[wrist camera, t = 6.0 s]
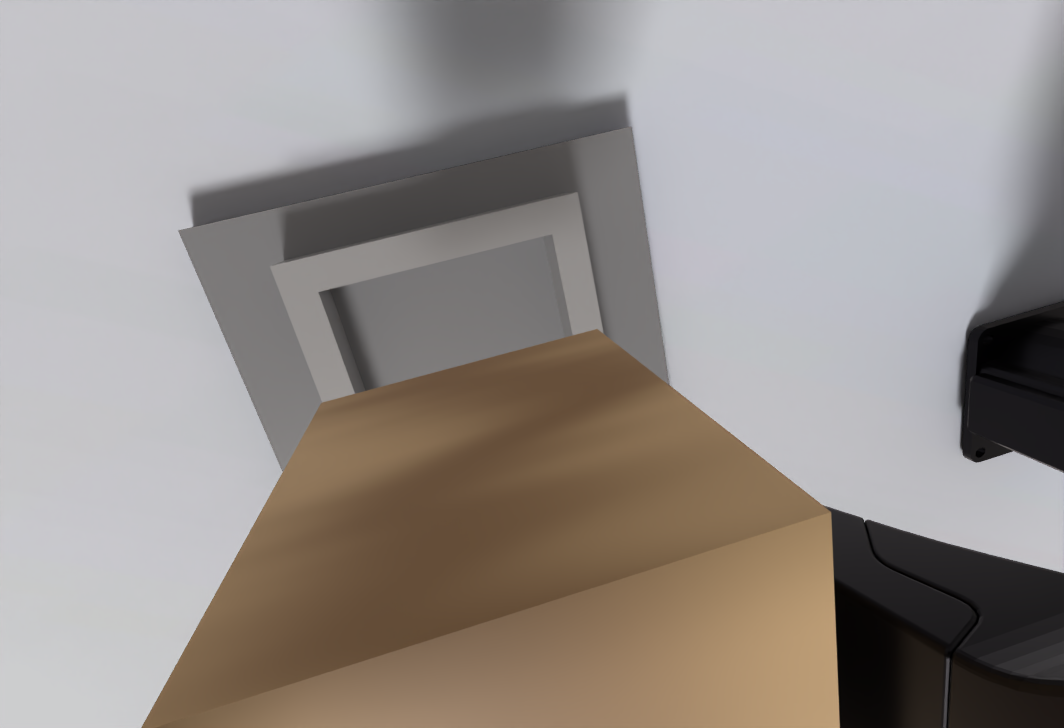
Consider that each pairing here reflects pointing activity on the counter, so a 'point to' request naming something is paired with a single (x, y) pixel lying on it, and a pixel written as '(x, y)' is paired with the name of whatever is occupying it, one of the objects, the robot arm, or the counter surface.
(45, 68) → the counter surface
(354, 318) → the grey tray
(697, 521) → the oak block
